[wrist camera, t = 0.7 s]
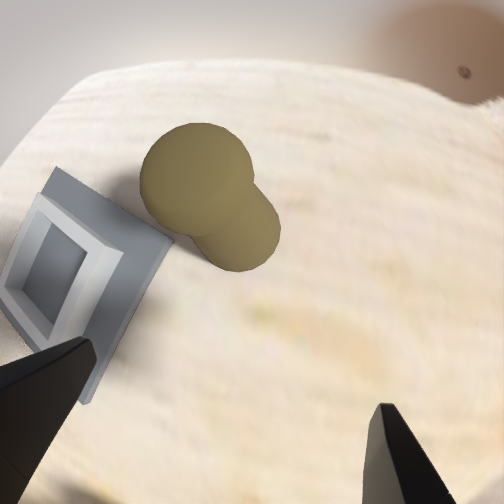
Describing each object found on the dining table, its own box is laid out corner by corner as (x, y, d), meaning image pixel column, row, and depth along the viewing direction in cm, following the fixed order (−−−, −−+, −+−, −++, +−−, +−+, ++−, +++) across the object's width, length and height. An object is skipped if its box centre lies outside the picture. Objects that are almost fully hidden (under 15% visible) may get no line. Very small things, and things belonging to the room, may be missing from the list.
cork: (212, 284, 22) (131, 256, 12) (189, 208, 24) (111, 137, 13) (293, 254, 22) (279, 198, 11) (264, 179, 23) (230, 83, 13)
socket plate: (89, 402, 22) (64, 411, 19) (1, 301, 26) (-23, 298, 23) (174, 240, 24) (153, 228, 20) (61, 169, 27) (40, 156, 24)
